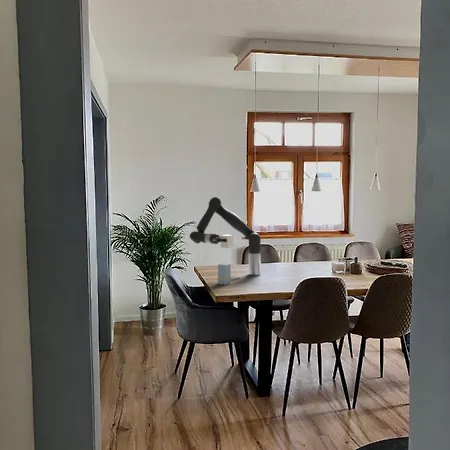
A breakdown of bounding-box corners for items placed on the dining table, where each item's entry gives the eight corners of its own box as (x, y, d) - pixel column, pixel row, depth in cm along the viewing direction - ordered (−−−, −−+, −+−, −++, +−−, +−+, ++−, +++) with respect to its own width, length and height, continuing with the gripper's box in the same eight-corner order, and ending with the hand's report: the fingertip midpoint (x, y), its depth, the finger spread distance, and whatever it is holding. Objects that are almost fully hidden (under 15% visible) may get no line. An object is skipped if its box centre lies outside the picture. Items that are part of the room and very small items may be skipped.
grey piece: (223, 282, 341) (223, 263, 340) (230, 283, 337) (230, 264, 336) (217, 283, 336) (217, 264, 335) (224, 284, 332) (224, 265, 331)
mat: (227, 276, 363) (227, 275, 363) (239, 278, 355) (239, 277, 355) (217, 278, 353) (217, 278, 353) (229, 280, 346) (229, 280, 346)
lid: (226, 246, 347) (226, 234, 346) (233, 247, 343) (233, 235, 342) (221, 247, 342) (220, 235, 341) (227, 248, 338) (227, 235, 337)
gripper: (205, 234, 345) (223, 235, 335) (218, 233, 356) (235, 234, 346) (206, 244, 346) (223, 246, 335) (218, 242, 357) (235, 244, 347)
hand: (229, 240), depth 341 cm, fingers closed on lid, 6 cm apart
